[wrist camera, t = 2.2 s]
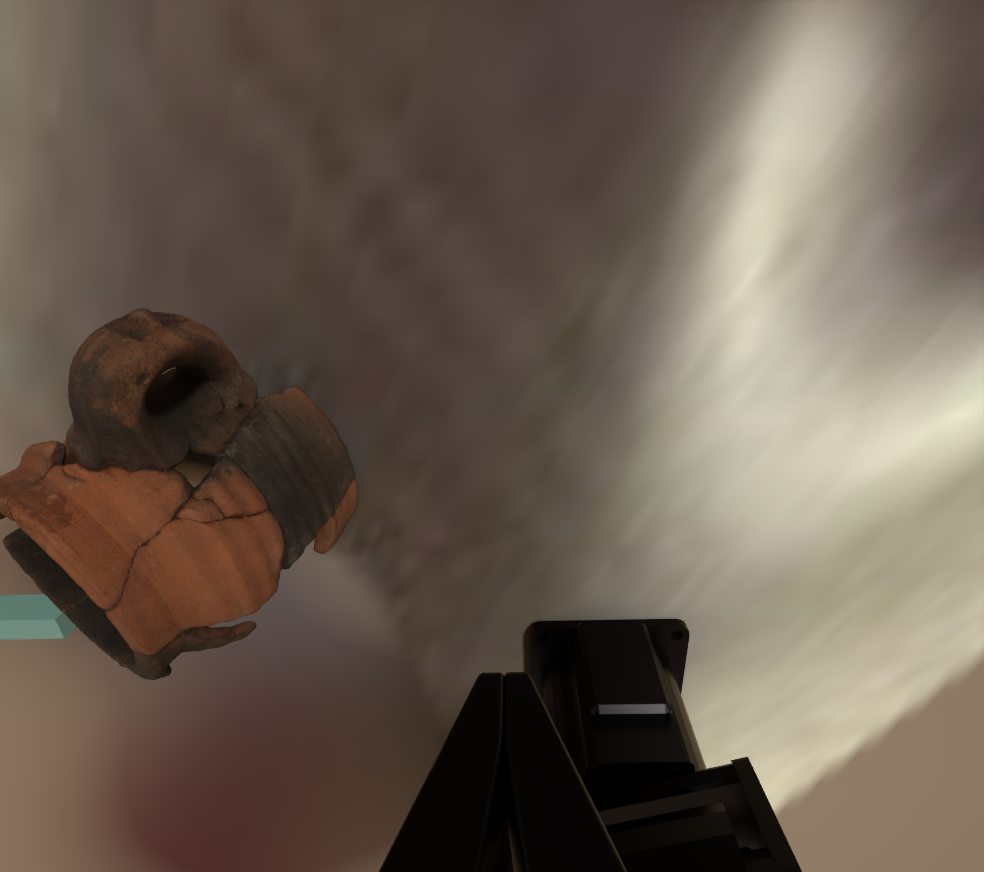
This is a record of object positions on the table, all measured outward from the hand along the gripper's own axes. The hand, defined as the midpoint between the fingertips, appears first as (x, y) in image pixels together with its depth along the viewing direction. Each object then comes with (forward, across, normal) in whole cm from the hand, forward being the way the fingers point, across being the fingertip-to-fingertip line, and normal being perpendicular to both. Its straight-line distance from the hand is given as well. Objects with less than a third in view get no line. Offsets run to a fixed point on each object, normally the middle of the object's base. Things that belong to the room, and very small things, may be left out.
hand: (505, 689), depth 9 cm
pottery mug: (+11, +10, 0) cm, 15 cm away
